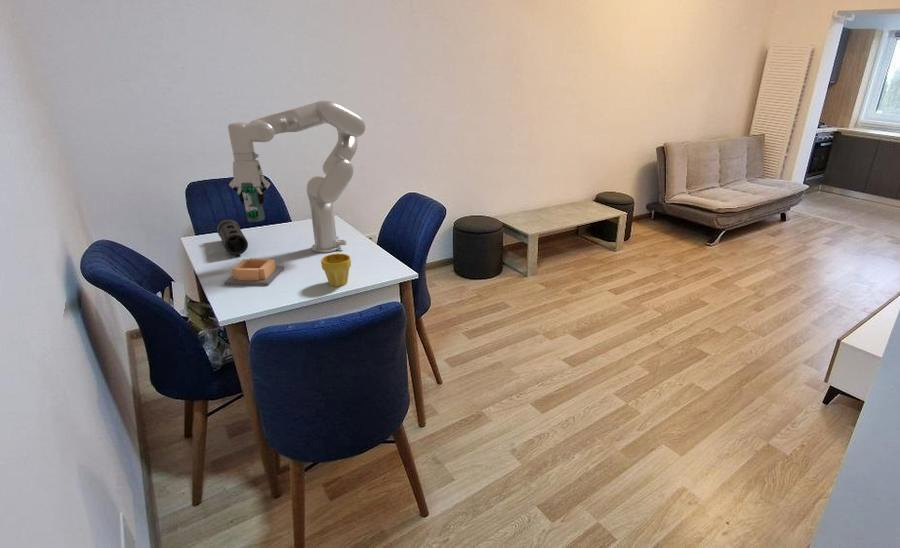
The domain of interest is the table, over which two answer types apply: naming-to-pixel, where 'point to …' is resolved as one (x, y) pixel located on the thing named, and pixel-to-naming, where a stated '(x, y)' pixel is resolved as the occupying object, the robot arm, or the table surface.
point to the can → (252, 203)
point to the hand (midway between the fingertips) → (253, 203)
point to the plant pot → (336, 268)
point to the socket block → (254, 272)
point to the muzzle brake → (232, 237)
